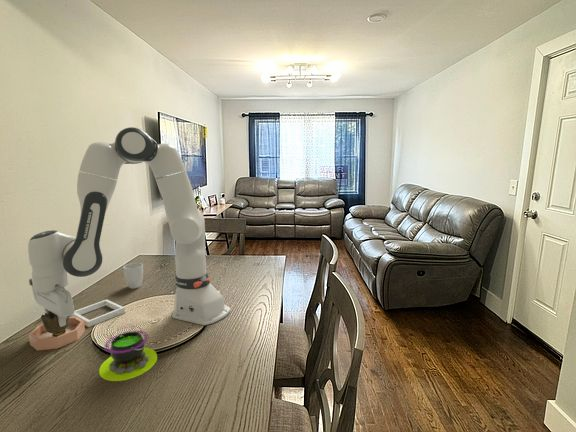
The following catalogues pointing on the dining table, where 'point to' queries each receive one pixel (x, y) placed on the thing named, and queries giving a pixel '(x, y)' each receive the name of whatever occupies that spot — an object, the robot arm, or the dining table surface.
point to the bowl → (46, 341)
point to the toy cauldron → (127, 356)
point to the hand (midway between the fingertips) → (56, 322)
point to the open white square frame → (89, 323)
